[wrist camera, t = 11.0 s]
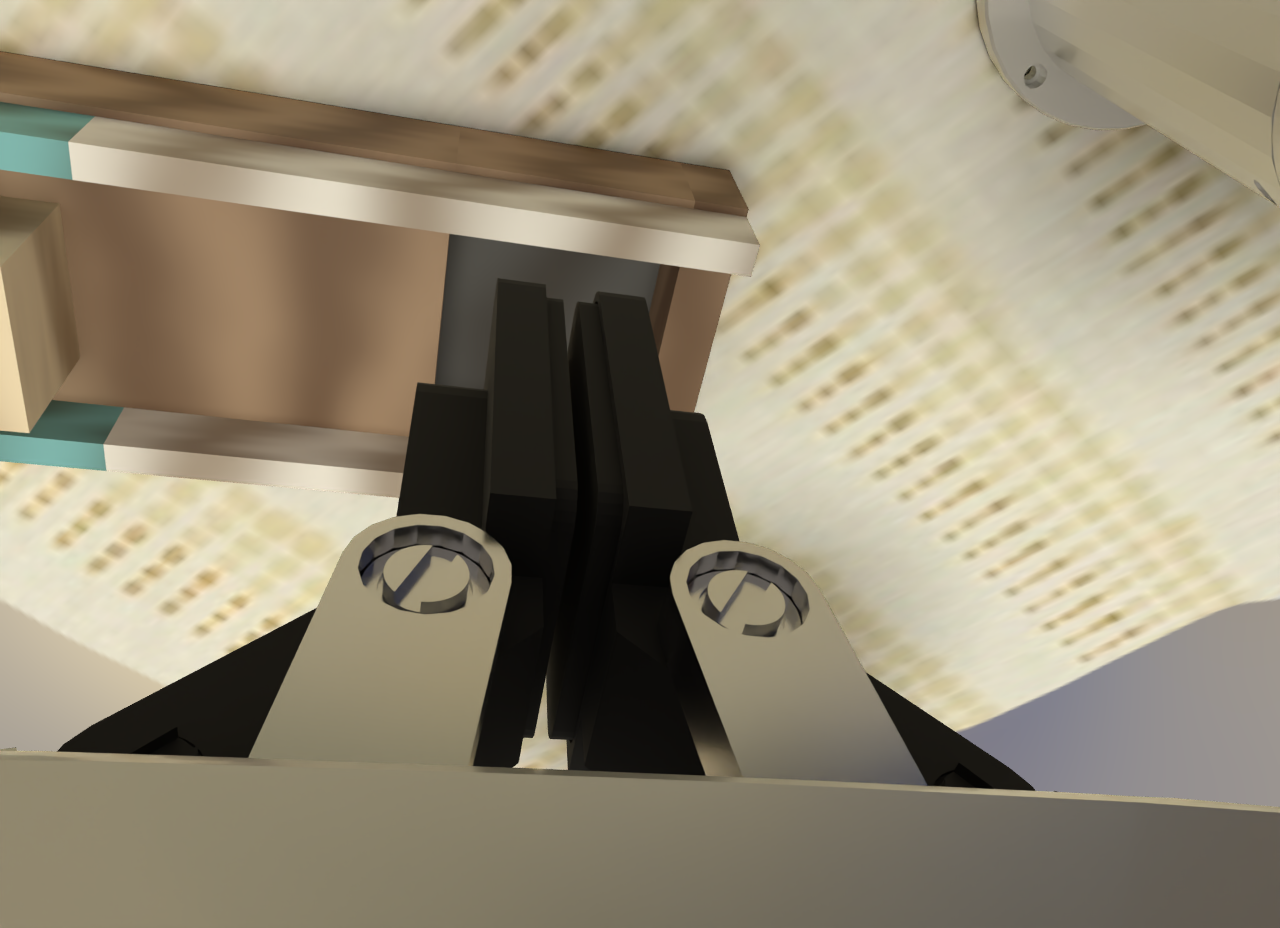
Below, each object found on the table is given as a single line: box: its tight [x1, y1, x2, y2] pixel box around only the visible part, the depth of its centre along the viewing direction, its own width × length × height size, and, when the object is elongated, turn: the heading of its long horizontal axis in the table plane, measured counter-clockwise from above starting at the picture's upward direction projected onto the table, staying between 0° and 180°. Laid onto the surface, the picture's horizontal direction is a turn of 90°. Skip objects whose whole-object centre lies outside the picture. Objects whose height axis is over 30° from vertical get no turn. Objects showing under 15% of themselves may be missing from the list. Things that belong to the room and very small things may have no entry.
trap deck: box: [0, 51, 760, 498], centre depth 38 cm, size 32×13×6 cm, turn 79°
